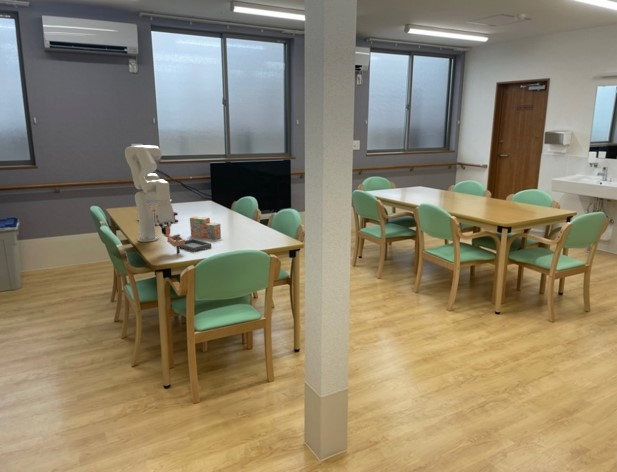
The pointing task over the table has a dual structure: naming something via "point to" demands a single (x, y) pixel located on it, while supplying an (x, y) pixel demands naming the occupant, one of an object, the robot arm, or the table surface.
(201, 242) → the tray
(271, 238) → the table surface
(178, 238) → the stake
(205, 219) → the stack of blocks
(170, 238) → the orange scoop
